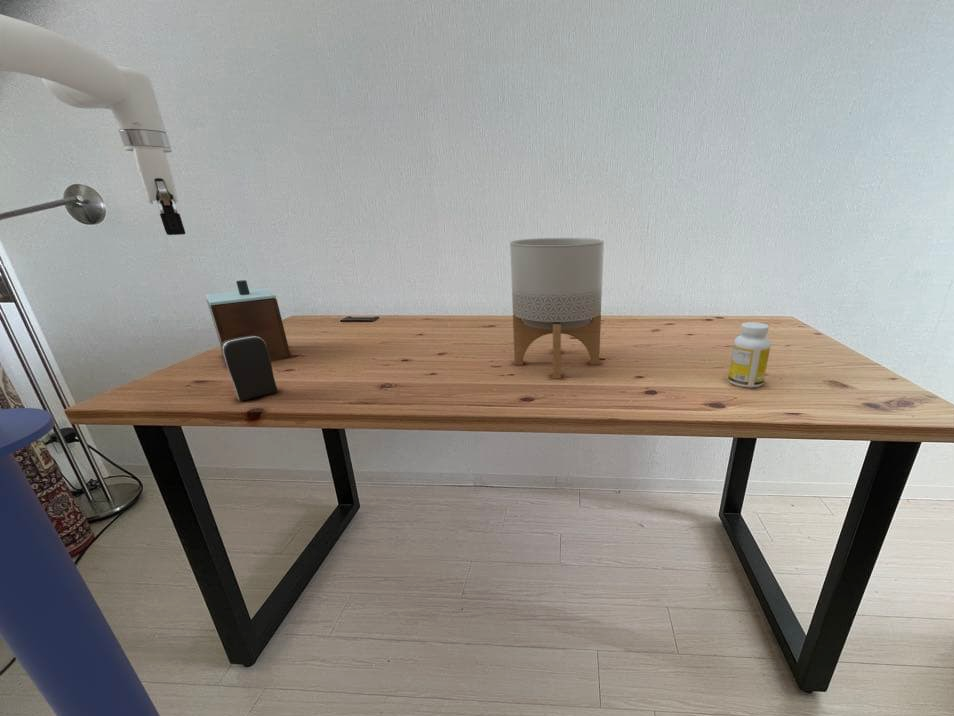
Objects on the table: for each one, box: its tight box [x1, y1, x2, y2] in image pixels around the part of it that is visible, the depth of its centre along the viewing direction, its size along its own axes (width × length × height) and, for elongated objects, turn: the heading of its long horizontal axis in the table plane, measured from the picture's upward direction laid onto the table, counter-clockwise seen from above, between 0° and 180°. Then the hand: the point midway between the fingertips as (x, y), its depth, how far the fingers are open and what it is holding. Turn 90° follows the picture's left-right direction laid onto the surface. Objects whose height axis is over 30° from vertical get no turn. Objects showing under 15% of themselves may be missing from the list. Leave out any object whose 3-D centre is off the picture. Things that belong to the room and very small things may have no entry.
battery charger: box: [220, 335, 279, 402], centre depth 85 cm, size 7×4×11 cm, turn 135°
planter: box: [509, 237, 605, 379], centre depth 97 cm, size 19×19×26 cm
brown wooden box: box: [205, 297, 292, 362], centre depth 107 cm, size 13×13×14 cm
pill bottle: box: [727, 321, 772, 389], centre depth 88 cm, size 6×6×12 cm
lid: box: [204, 279, 277, 305], centre depth 104 cm, size 13×13×4 cm
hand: (175, 233), depth 98 cm, fingers open, 9 cm apart
